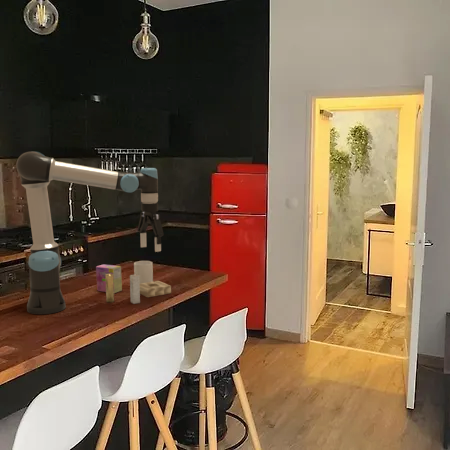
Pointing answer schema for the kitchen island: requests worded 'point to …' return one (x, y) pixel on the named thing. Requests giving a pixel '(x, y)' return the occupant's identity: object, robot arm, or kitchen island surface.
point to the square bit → (134, 289)
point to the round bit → (109, 288)
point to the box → (101, 277)
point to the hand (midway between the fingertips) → (150, 249)
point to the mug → (144, 271)
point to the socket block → (154, 288)
